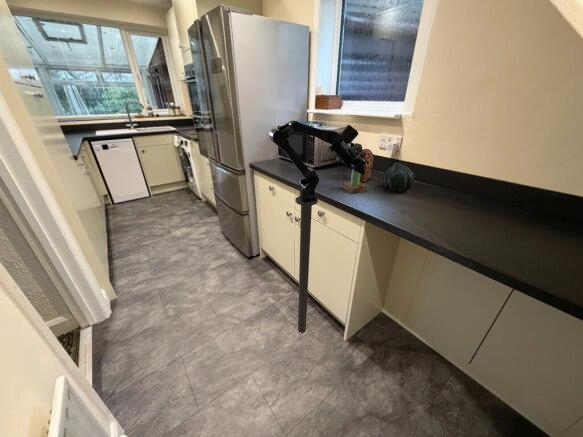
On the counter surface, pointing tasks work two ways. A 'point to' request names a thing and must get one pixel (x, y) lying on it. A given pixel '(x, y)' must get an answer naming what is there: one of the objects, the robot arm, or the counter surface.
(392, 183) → the squash
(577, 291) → the counter surface
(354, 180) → the peg doll
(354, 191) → the walnut block
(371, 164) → the wooden figurine
